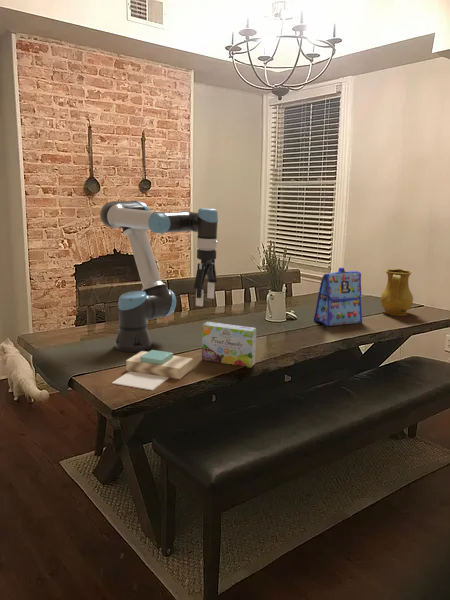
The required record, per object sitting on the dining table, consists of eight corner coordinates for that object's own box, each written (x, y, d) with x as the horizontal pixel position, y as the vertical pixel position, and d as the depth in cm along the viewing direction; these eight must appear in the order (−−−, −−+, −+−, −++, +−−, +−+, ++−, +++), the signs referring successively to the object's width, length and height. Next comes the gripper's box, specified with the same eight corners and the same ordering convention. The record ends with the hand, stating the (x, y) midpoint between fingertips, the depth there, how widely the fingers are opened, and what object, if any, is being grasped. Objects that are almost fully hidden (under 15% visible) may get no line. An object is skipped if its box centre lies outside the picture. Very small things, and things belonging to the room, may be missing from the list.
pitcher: (419, 314, 282) (421, 269, 276) (397, 320, 272) (399, 274, 266) (393, 308, 296) (394, 266, 290) (372, 314, 286) (373, 270, 280)
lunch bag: (328, 327, 253) (331, 270, 247) (312, 320, 266) (316, 266, 259) (362, 323, 262) (367, 268, 256) (346, 316, 274) (350, 264, 268)
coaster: (140, 361, 188) (140, 356, 187) (151, 354, 196) (151, 349, 196) (162, 364, 185) (162, 360, 184) (173, 357, 193) (173, 352, 193)
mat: (111, 383, 177) (111, 382, 177) (129, 372, 188) (129, 371, 188) (152, 390, 172) (152, 389, 172) (168, 378, 183) (168, 377, 183)
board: (126, 370, 190) (126, 360, 189) (142, 360, 201) (141, 350, 200) (179, 379, 182) (179, 368, 181) (193, 368, 193) (193, 358, 192)
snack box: (200, 360, 202) (201, 324, 199) (206, 356, 207) (206, 320, 204) (251, 368, 195) (252, 330, 191) (255, 363, 200) (257, 326, 197)
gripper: (205, 254, 184) (203, 310, 189) (225, 245, 207) (223, 296, 212) (186, 252, 186) (184, 308, 191) (208, 244, 209) (206, 294, 214)
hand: (205, 302), depth 202 cm, fingers open, 13 cm apart
